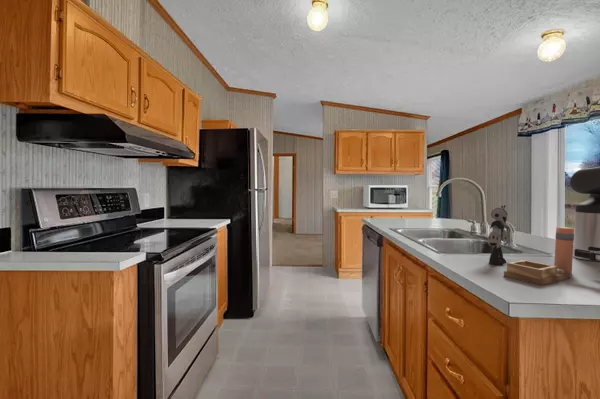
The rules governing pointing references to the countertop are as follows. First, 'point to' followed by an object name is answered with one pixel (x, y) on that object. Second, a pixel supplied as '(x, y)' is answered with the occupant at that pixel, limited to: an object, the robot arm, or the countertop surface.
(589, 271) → the countertop surface
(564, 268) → the banded orange cylinder
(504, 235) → the robot
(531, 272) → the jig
